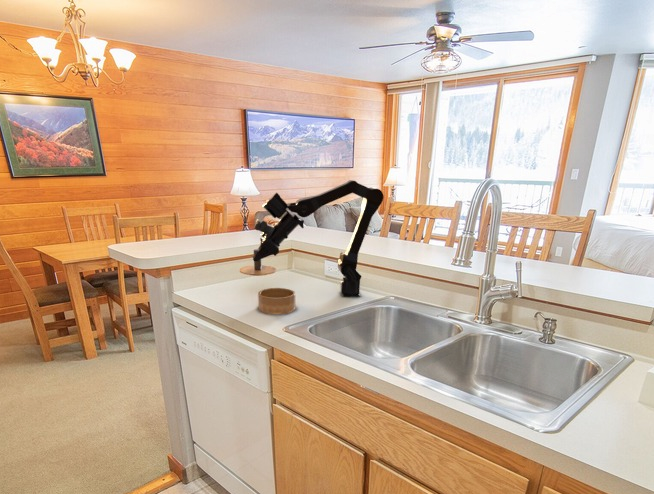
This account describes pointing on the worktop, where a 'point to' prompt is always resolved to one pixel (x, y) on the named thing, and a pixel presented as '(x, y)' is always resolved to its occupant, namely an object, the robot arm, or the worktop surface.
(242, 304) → the worktop surface
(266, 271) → the lid
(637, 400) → the worktop surface
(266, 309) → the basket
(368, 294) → the worktop surface
